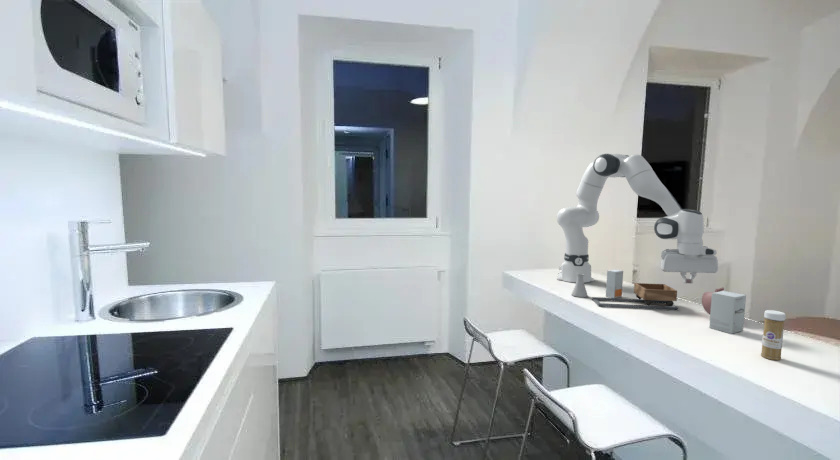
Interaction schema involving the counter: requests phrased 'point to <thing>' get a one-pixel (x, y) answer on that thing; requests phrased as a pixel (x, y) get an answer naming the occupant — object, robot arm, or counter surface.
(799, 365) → the counter surface
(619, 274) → the skincare box
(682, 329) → the counter surface
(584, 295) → the flask
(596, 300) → the rail track
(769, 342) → the sprinkles bottle
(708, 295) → the mortar and pestle
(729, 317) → the supplement box
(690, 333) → the counter surface
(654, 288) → the cart
